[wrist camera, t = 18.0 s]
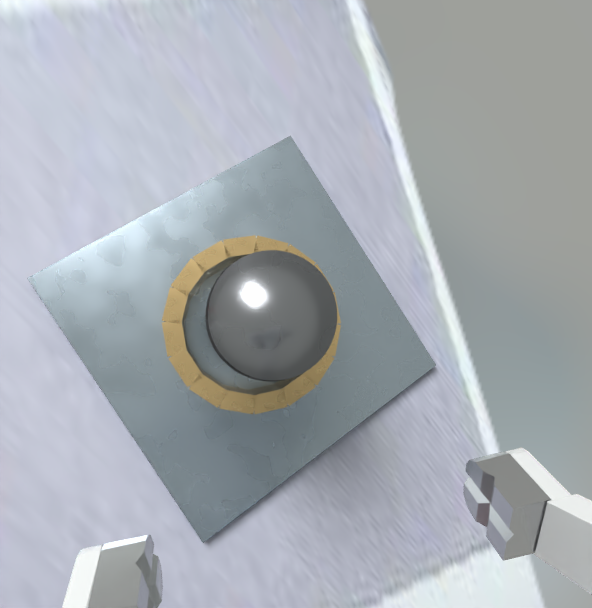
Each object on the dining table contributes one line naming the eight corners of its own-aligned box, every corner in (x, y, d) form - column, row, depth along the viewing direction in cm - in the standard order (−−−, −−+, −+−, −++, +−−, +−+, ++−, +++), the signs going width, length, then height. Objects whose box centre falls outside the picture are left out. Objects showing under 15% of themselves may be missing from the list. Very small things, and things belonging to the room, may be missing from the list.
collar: (432, 364, 29) (462, 367, 25) (203, 539, 25) (202, 570, 21) (288, 139, 28) (300, 110, 25) (30, 279, 24) (1, 268, 21)
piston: (306, 338, 27) (364, 334, 17) (236, 385, 25) (254, 410, 16) (261, 268, 26) (293, 223, 17) (189, 313, 25) (177, 292, 15)
